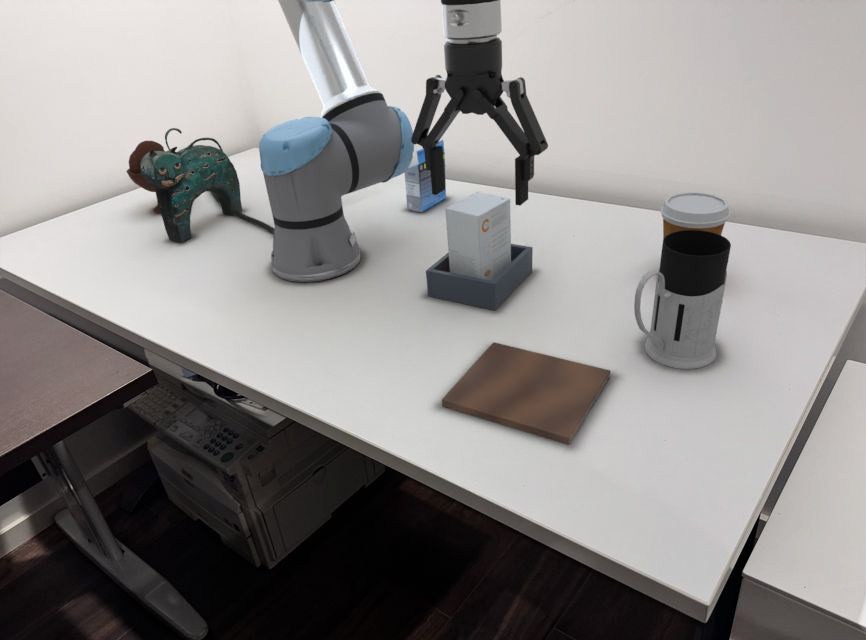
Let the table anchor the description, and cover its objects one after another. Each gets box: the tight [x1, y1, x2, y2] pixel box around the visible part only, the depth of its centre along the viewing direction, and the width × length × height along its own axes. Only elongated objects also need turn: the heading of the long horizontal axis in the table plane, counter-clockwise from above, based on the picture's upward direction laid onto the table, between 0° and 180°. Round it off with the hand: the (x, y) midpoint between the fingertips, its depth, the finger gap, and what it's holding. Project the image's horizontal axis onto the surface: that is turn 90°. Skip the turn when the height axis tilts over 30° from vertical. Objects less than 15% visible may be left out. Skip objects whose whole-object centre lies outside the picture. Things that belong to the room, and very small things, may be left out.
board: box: [441, 342, 611, 445], centre depth 81 cm, size 16×14×1 cm
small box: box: [444, 191, 512, 281], centre depth 102 cm, size 8×6×13 cm
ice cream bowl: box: [126, 140, 165, 215], centre depth 141 cm, size 11×11×15 cm
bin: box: [425, 243, 534, 311], centre depth 105 cm, size 12×14×4 cm
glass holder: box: [633, 230, 732, 370], centre depth 81 cm, size 9×14×15 cm, turn 125°
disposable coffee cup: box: [660, 191, 731, 240], centre depth 100 cm, size 10×10×12 cm
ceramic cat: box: [141, 127, 243, 244], centre depth 130 cm, size 20×6×20 cm, turn 150°
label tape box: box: [404, 139, 447, 213], centre depth 133 cm, size 9×4×12 cm, turn 144°
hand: (479, 197), depth 98 cm, fingers open, 13 cm apart
